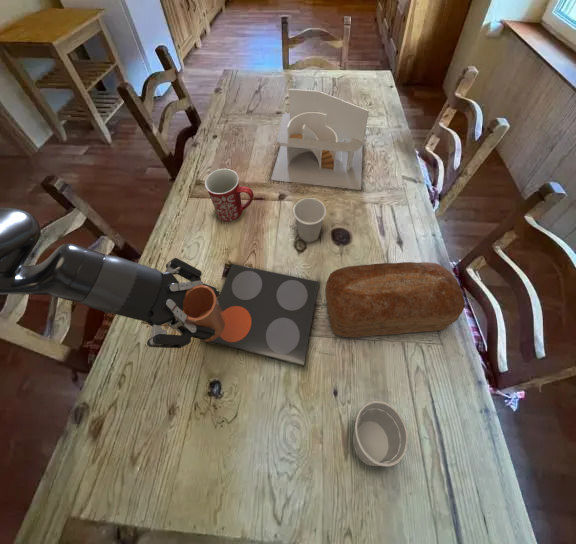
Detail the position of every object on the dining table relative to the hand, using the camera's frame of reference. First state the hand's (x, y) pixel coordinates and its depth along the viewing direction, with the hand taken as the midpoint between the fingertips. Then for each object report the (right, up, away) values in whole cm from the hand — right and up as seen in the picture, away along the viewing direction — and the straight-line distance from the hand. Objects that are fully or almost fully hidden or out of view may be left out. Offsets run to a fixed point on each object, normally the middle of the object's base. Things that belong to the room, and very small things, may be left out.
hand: (214, 313), depth 60 cm
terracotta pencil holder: (-2, -4, +3) cm, 5 cm away
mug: (-2, +12, +39) cm, 40 cm away
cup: (+28, -24, +1) cm, 36 cm away
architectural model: (+23, +27, +53) cm, 64 cm away
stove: (+8, -8, +18) cm, 21 cm away
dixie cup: (+19, +7, +33) cm, 39 cm away
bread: (+35, -7, +18) cm, 40 cm away
